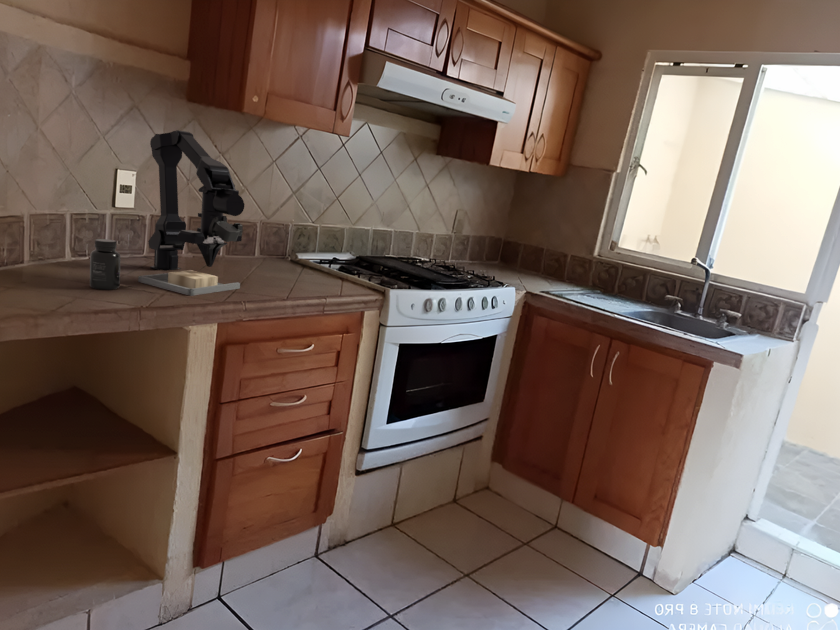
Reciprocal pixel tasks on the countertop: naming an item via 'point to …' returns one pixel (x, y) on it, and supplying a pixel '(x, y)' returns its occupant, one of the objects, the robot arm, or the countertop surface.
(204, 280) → the wooden block
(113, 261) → the supplement bottle
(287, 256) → the countertop surface
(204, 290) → the mat
